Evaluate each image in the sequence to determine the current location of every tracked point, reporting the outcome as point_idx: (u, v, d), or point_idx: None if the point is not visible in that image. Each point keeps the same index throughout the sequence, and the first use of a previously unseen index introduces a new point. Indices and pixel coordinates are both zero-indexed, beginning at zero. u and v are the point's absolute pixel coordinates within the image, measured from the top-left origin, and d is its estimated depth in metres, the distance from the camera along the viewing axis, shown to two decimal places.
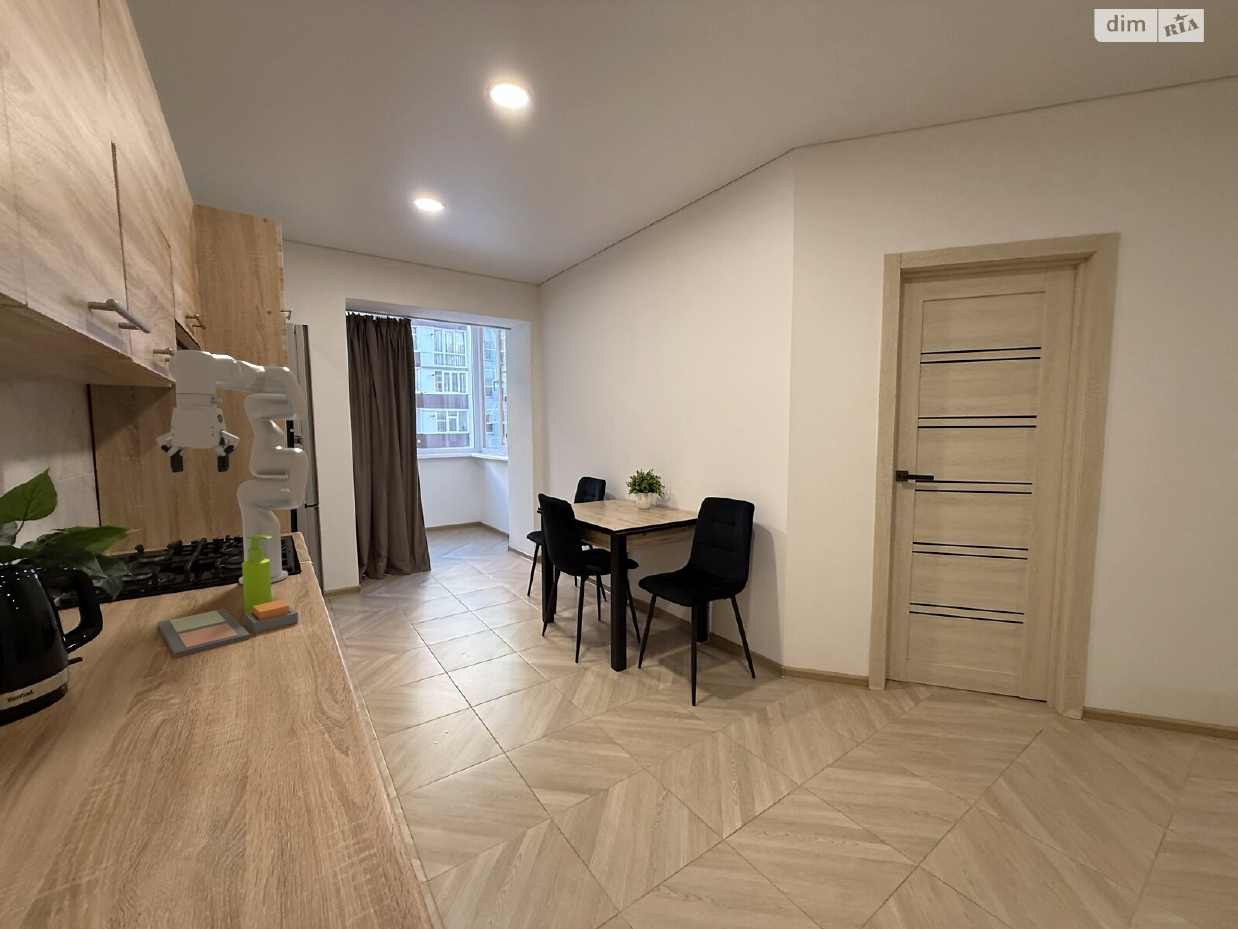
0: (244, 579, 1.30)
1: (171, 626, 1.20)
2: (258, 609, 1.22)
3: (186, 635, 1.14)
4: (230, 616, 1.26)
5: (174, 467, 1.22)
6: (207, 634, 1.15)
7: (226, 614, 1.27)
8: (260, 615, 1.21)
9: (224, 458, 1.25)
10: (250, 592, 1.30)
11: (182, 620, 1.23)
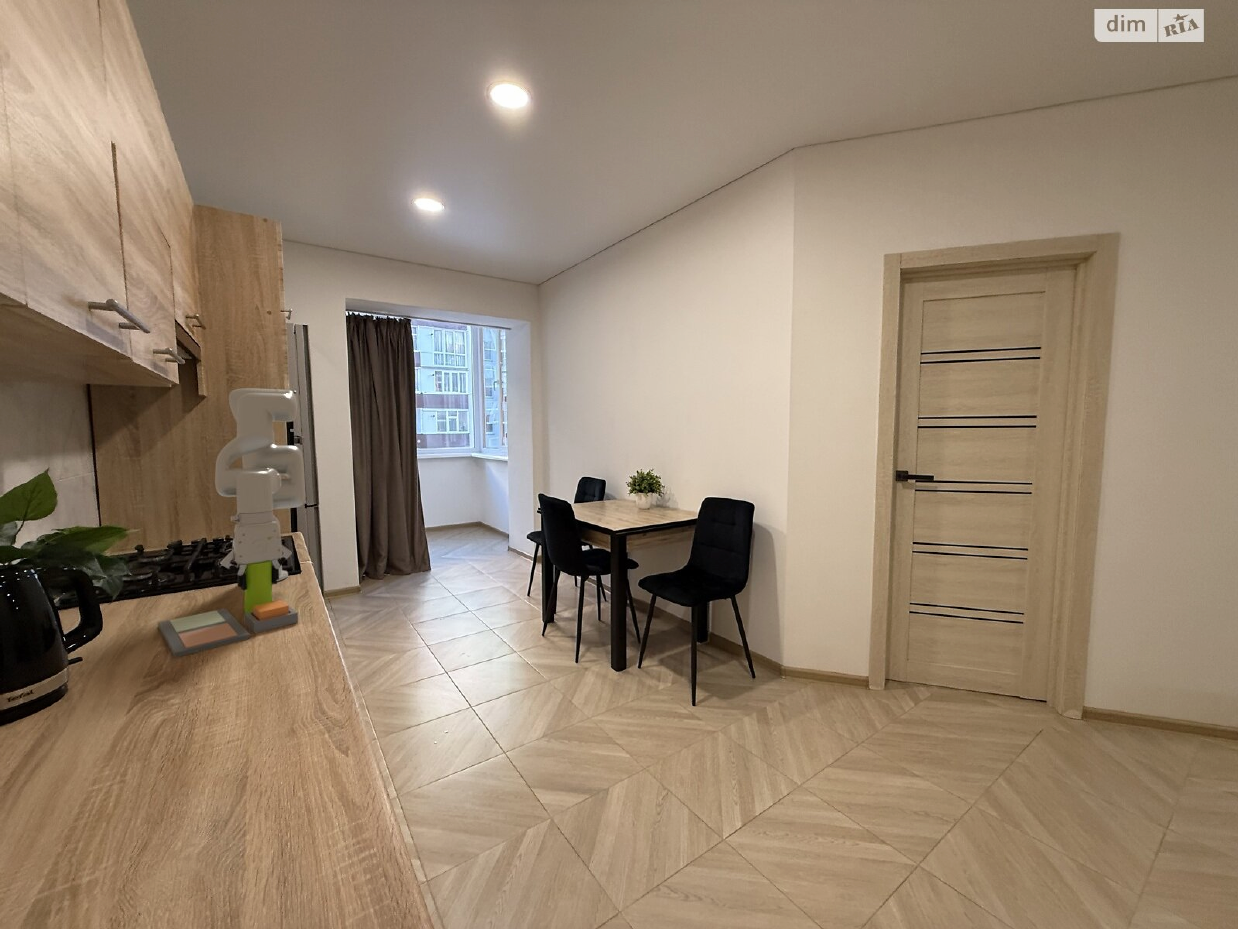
0: None
1: (171, 626, 1.20)
2: (258, 609, 1.22)
3: (186, 635, 1.14)
4: (230, 616, 1.26)
5: None
6: (207, 634, 1.15)
7: (226, 614, 1.27)
8: (260, 615, 1.21)
9: None
10: (251, 591, 1.30)
11: (182, 620, 1.23)
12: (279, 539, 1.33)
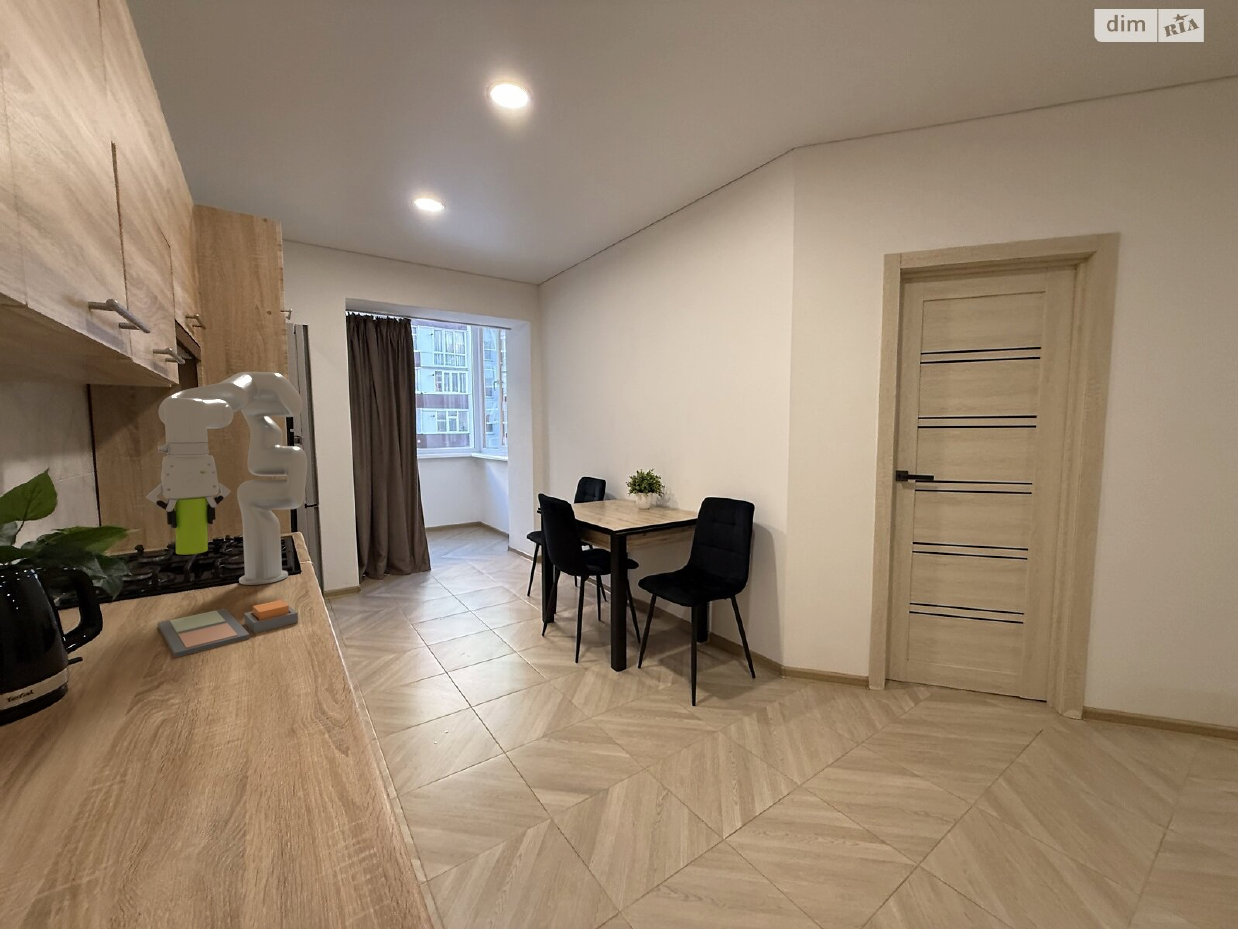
0: (176, 516, 1.18)
1: (171, 626, 1.20)
2: (258, 609, 1.22)
3: (186, 635, 1.14)
4: (230, 616, 1.26)
5: None
6: (207, 634, 1.15)
7: (226, 614, 1.27)
8: (260, 615, 1.21)
9: None
10: (182, 530, 1.18)
11: (182, 620, 1.23)
12: (214, 474, 1.22)
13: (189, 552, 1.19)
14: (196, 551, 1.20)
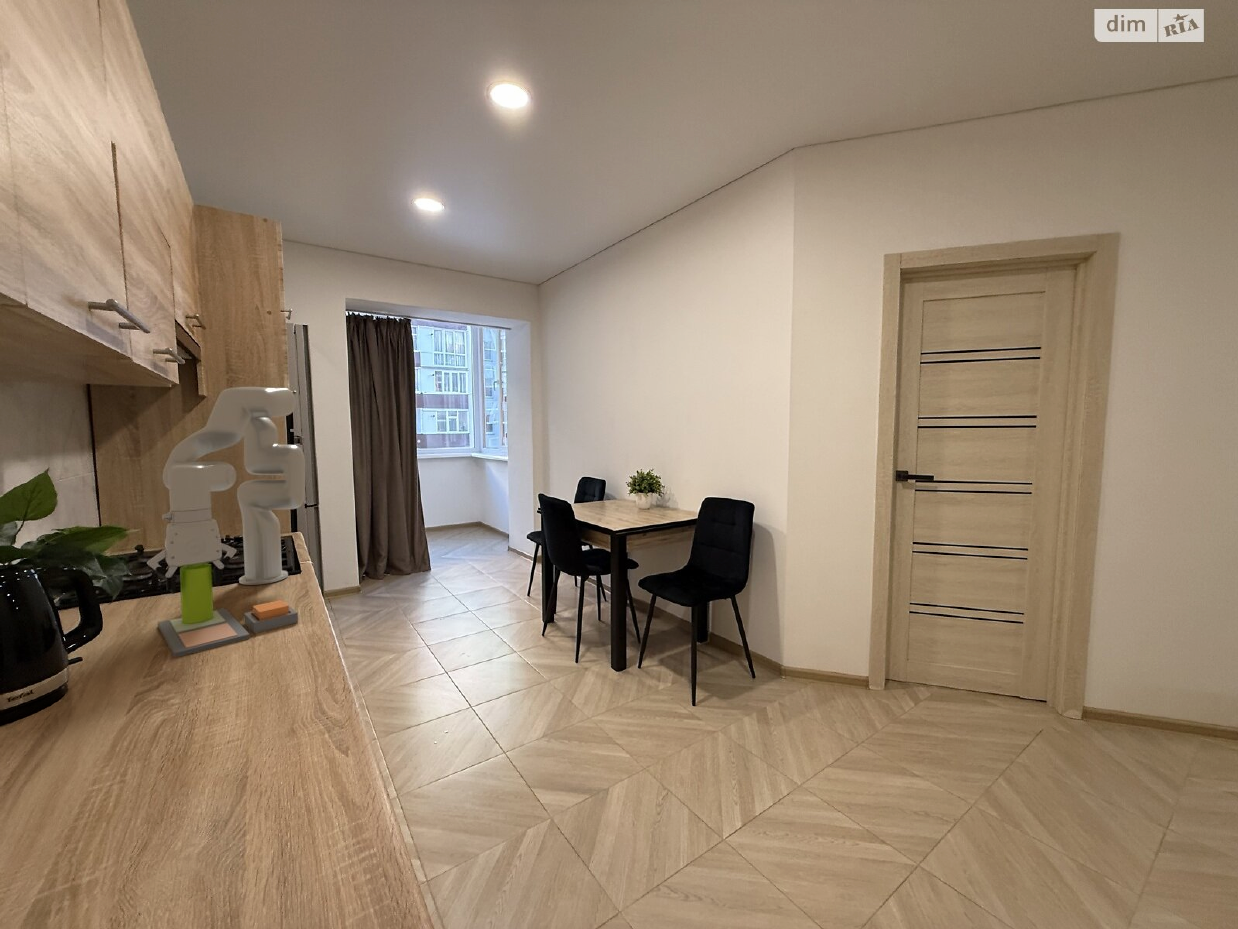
0: (181, 586, 1.20)
1: (171, 626, 1.20)
2: (258, 609, 1.22)
3: (186, 635, 1.14)
4: (230, 616, 1.26)
5: None
6: (207, 634, 1.15)
7: (226, 614, 1.27)
8: (260, 615, 1.21)
9: None
10: (188, 600, 1.20)
11: None
12: (218, 539, 1.23)
13: (195, 621, 1.21)
14: (202, 619, 1.22)
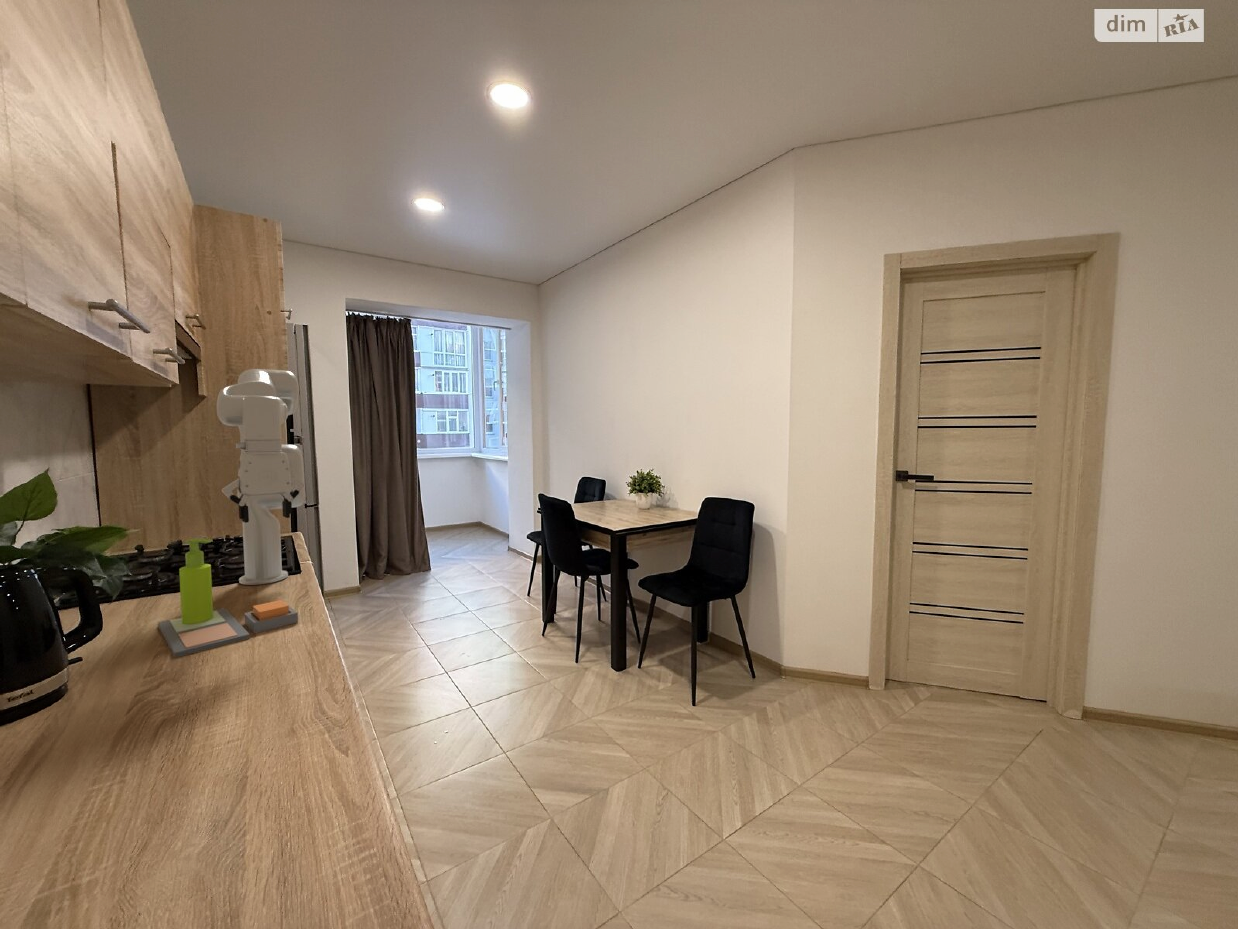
0: (181, 586, 1.20)
1: (171, 626, 1.20)
2: (258, 609, 1.22)
3: (186, 635, 1.14)
4: (230, 616, 1.26)
5: None
6: (207, 634, 1.15)
7: (226, 614, 1.27)
8: (260, 615, 1.21)
9: None
10: (188, 600, 1.20)
11: None
12: (288, 471, 1.24)
13: (195, 621, 1.21)
14: (202, 619, 1.22)
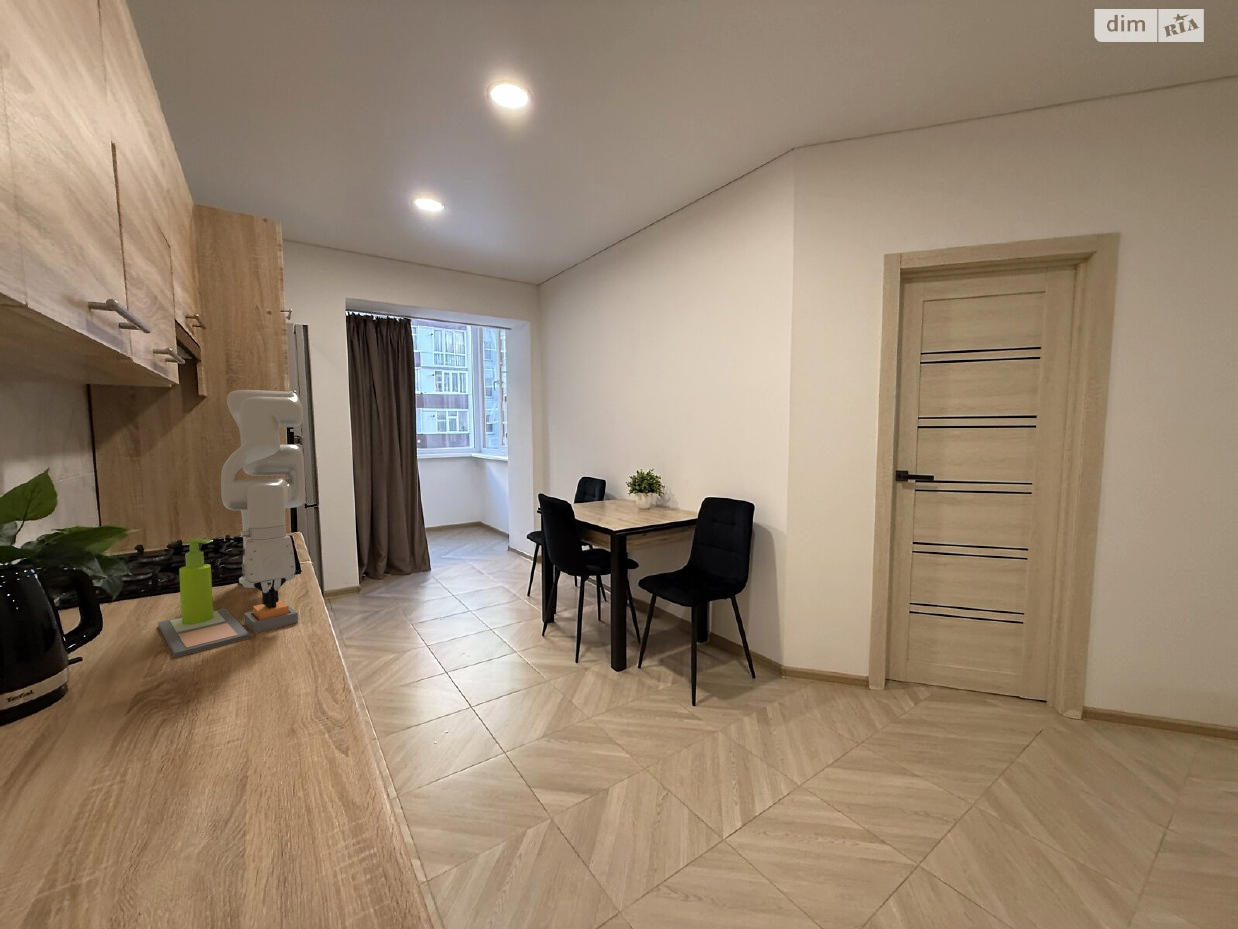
0: (181, 586, 1.20)
1: (171, 626, 1.20)
2: (258, 609, 1.22)
3: (186, 635, 1.14)
4: (230, 616, 1.26)
5: None
6: (207, 634, 1.15)
7: (226, 614, 1.27)
8: (260, 615, 1.21)
9: None
10: (188, 600, 1.20)
11: None
12: (292, 555, 1.25)
13: (195, 621, 1.21)
14: (202, 620, 1.22)
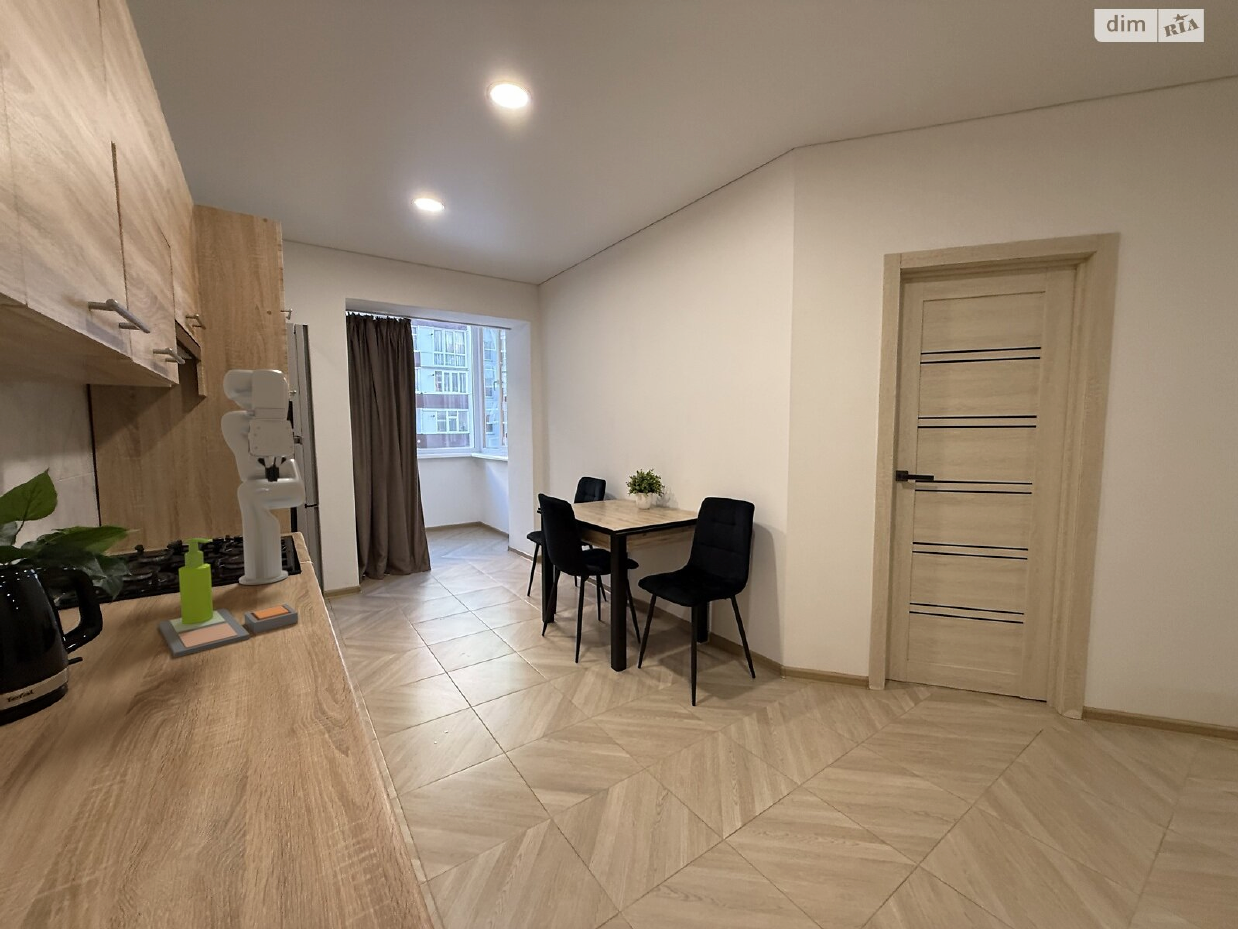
0: (181, 586, 1.20)
1: (171, 626, 1.20)
2: (258, 615, 1.22)
3: (186, 635, 1.14)
4: (230, 616, 1.26)
5: None
6: (207, 634, 1.15)
7: (226, 614, 1.27)
8: None
9: None
10: (188, 600, 1.20)
11: None
12: (291, 436, 1.41)
13: (195, 621, 1.21)
14: (202, 619, 1.22)
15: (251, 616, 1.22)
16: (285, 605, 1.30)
